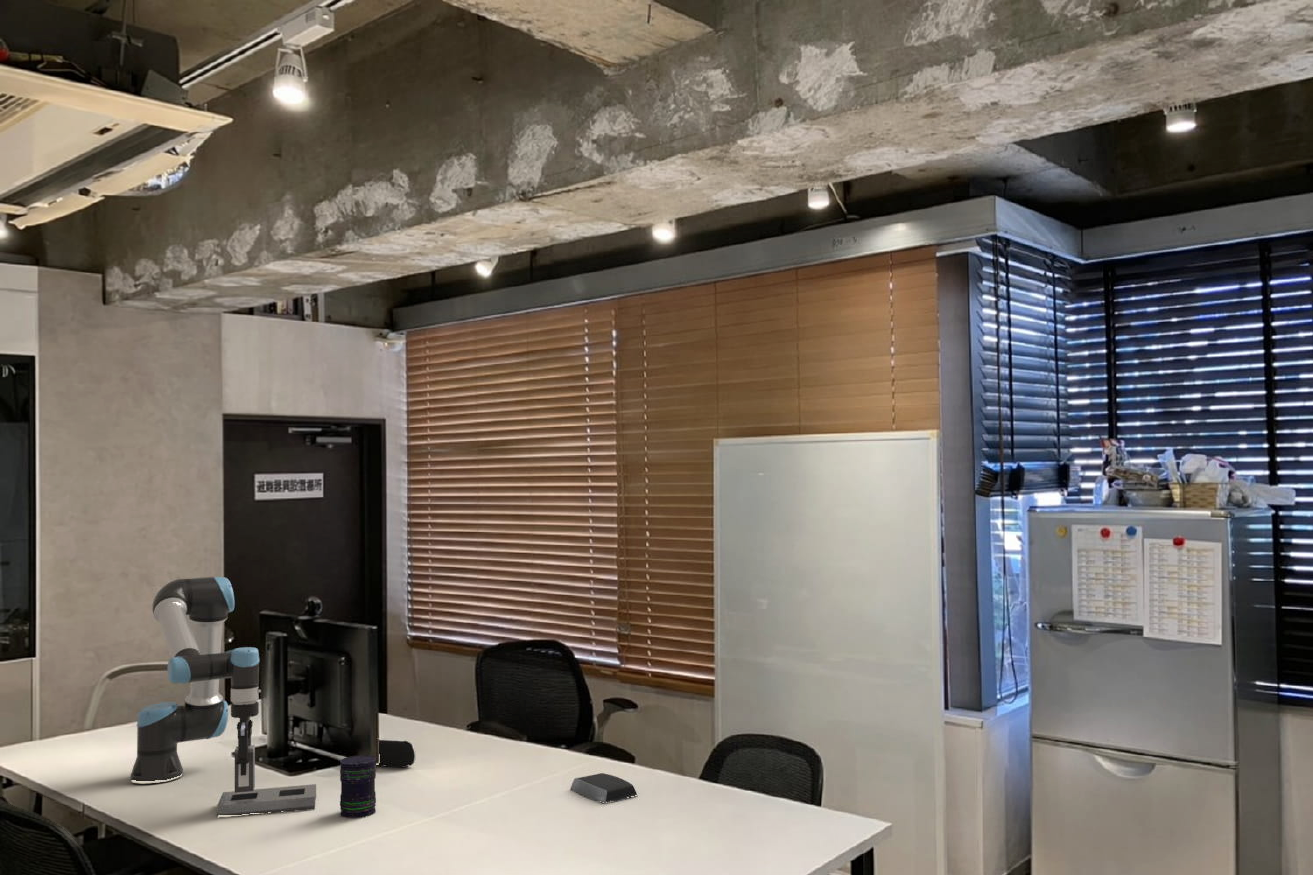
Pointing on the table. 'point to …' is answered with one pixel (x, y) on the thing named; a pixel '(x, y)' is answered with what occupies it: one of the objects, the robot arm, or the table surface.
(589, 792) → the external hard drive
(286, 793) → the socket board
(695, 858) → the table surface
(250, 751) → the plug
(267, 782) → the table surface
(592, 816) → the table surface
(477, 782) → the table surface
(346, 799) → the storage jar
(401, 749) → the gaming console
